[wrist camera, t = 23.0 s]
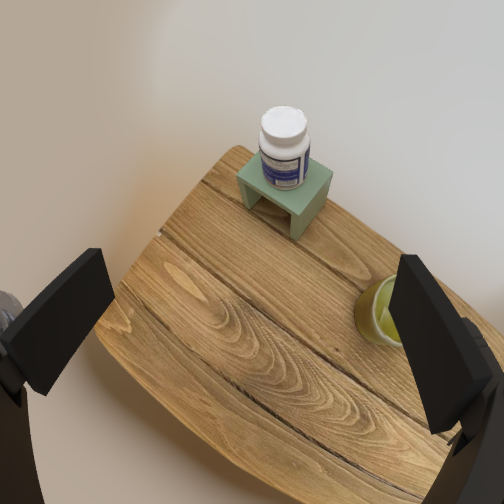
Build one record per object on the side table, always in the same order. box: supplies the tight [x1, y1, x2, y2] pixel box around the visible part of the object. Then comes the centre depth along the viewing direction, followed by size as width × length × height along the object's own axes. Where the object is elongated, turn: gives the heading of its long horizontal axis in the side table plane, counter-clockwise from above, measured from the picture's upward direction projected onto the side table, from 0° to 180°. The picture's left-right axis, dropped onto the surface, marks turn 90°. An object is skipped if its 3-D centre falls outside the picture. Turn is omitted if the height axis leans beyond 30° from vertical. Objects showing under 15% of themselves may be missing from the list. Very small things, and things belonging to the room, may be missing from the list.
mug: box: [354, 274, 403, 347], centre depth 34 cm, size 12×10×10 cm
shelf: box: [236, 150, 333, 241], centre depth 41 cm, size 10×8×9 cm
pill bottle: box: [259, 106, 310, 190], centre depth 32 cm, size 6×6×10 cm
